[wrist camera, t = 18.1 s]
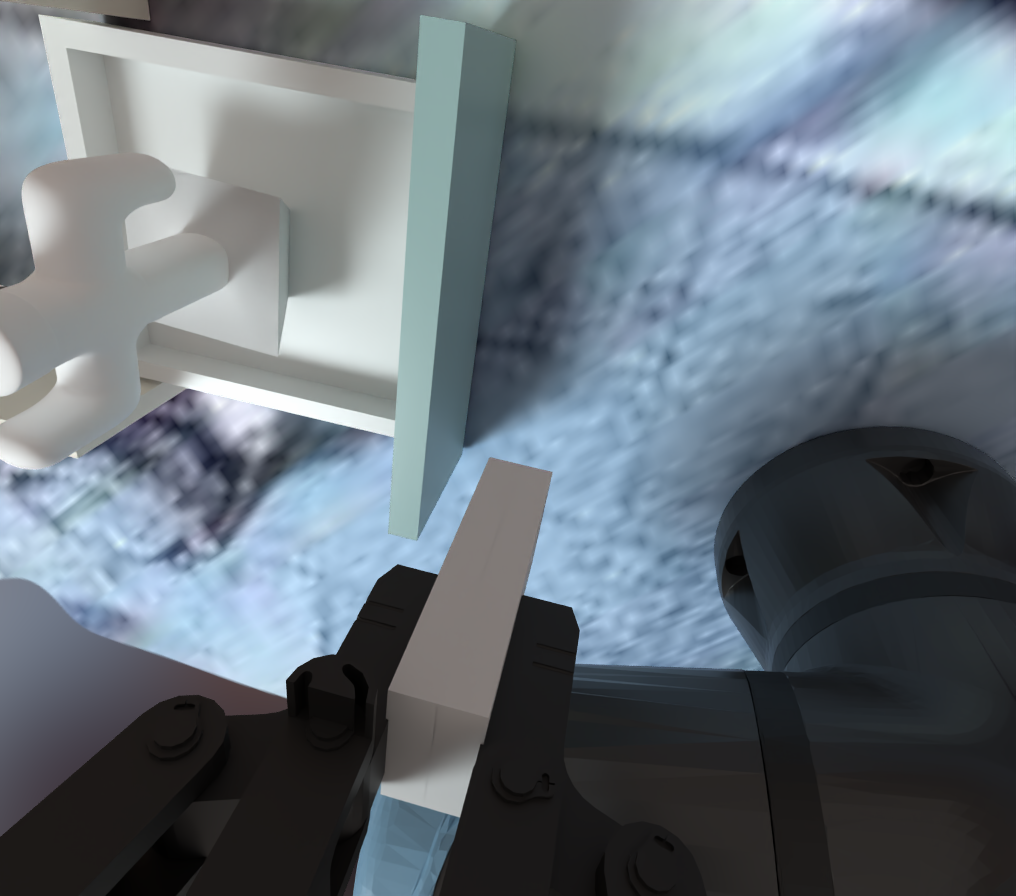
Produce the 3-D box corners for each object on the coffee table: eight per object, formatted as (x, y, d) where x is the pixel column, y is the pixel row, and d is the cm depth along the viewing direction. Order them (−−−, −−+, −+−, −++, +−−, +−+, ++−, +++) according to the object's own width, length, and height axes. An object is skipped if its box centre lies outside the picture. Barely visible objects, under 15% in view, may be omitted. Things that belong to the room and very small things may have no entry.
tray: (516, 40, 25) (465, 22, 18) (461, 454, 36) (416, 540, 29) (85, -35, 27) (-107, -76, 20) (153, 380, 37) (43, 445, 31)
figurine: (321, 159, 28) (44, 220, 15) (313, 350, 33) (98, 516, 20) (172, 120, 28) (-217, 147, 16) (186, 314, 33) (-101, 454, 21)
